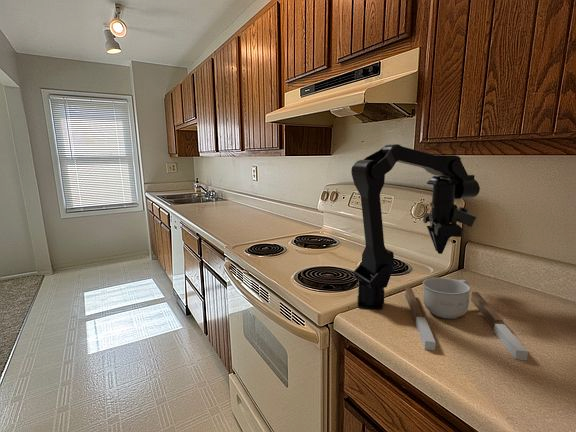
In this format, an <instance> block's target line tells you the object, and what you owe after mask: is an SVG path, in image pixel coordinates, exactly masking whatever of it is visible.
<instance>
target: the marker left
mask: <svg viewBox="0 0 576 432" xmlns="http://www.w3.org/2000/svg"><path fill="white" fill-rule="evenodd" d="M415 327H416V329H417V332H418V335H419V337H420V340H421V343H422V346H423V348H424V350H425V351H426V350H428V351H436V343H437V342H436V340H435V337H434V335H433V332H432V330H431V328H430V326H429V324H428V321H427V319H426V317H423V316H422V317H416V322H415Z"/></svg>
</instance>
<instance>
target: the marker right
mask: <svg viewBox="0 0 576 432" xmlns="http://www.w3.org/2000/svg"><path fill="white" fill-rule="evenodd" d="M493 332H494V334H495V335H496V336H497V337H498V339H499V340H500V341H501V342H502V344H503V345H504V347H505V348H506V349H507V350H508V352H509V353H510V354H511V355H512V357H513V358H514V359H515V360H520V361H528V355H529V350H527V348H526V347H525V346H524V345H523V344H522V343H521V342H520V340H519V339H518V338H517V337H516V335H514V333H513V332H512V331H511V330H510V329H509V328H508V326H506V324H503V323H502V324H495V325H494V328H493Z"/></svg>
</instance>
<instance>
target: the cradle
mask: <svg viewBox="0 0 576 432" xmlns="http://www.w3.org/2000/svg"><path fill="white" fill-rule="evenodd" d="M470 295H471V296H470V301H471V302H472V303H473V304H474V306H475V308H477V309H478V311H479V312H480V314H482V316H483V317H484V318H485V320H486V321H487V322H488V323H489V324H490V326H491V327H492V329H494V325H495V324H503V319H502V318H501V316H500V315H498V313H497V312H496V310H495V309H494V308H493V307H492V306H491V305H490V303H488V302H487V300H485V298H484V297H483V296H482V295H481V294H480V293H479V292H478V291H471V294H470ZM404 296H405V298H406V301H407V303H408V307H409V309H410V312H411V315H412V317H413V320H414V322H415V323H416V317H423V312H422V310H421V308H420V305H419V303H418V301H417V298H416V296H415V292H414V291H413V288H412V287H408V286H407V287H405V295H404Z"/></svg>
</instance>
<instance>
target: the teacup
mask: <svg viewBox="0 0 576 432" xmlns="http://www.w3.org/2000/svg"><path fill="white" fill-rule="evenodd" d="M422 287H423V288H422V291H423V292H422V294H423V295H422V297H423V298H422V299H423V300H422V301H423V304H424V306H425V309H427V310H428V311H429V312H430V313H432V315H434V316H435V317H439V318H443V319H447V320H448V319H450V320H453V319H457V318H460V317H461V316H463V315H465V314H466V312H468V309H469V304H470V290H471V287H470V284H469V281H468V280H465V279H459V280H457V279H454V278H448V277H431V278H427V279H425V280H423V281H422Z"/></svg>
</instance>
